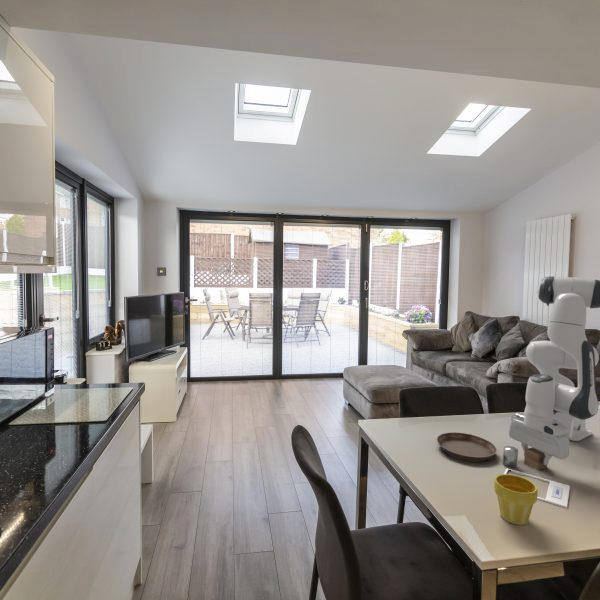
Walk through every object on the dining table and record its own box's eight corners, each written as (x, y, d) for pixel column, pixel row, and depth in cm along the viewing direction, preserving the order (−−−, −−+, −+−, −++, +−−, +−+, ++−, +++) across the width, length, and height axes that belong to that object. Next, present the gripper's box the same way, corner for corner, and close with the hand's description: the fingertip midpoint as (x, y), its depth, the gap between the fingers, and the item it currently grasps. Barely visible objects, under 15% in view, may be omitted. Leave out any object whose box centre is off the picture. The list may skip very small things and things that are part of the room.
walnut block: (533, 460, 144) (534, 447, 144) (547, 466, 139) (548, 452, 139) (524, 462, 142) (525, 449, 142) (537, 469, 137) (538, 455, 137)
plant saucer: (506, 466, 139) (507, 457, 139) (446, 463, 140) (446, 454, 140) (482, 441, 160) (483, 433, 160) (430, 439, 161) (430, 431, 161)
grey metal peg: (508, 461, 143) (509, 445, 142) (519, 467, 139) (521, 450, 138) (499, 463, 141) (500, 447, 141) (510, 469, 137) (512, 452, 137)
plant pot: (484, 508, 113) (486, 475, 113) (515, 504, 116) (517, 471, 115) (511, 531, 103) (513, 495, 102) (545, 527, 105) (547, 491, 105)
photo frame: (567, 506, 114) (497, 484, 125) (566, 509, 114) (497, 488, 125) (570, 485, 126) (506, 467, 137) (569, 488, 126) (506, 470, 137)
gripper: (506, 412, 148) (503, 449, 149) (561, 433, 129) (558, 475, 130) (518, 411, 150) (515, 446, 151) (573, 431, 132) (570, 472, 133)
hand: (535, 460), depth 141 cm, fingers closed on walnut block, 5 cm apart
